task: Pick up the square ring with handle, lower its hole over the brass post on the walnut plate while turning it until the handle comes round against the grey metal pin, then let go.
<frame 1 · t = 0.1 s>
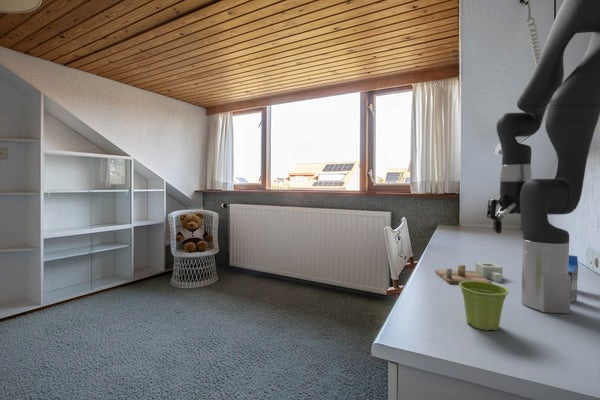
hand: (513, 233, 89), 17 cm above the table, tool pointing down, fingers open, 8 cm apart
square ring with handle: (488, 276, 103), on the table
locating plate: (461, 278, 101), on the table
plant pot: (482, 325, 66), on the table
label tape box: (554, 297, 84), on the table
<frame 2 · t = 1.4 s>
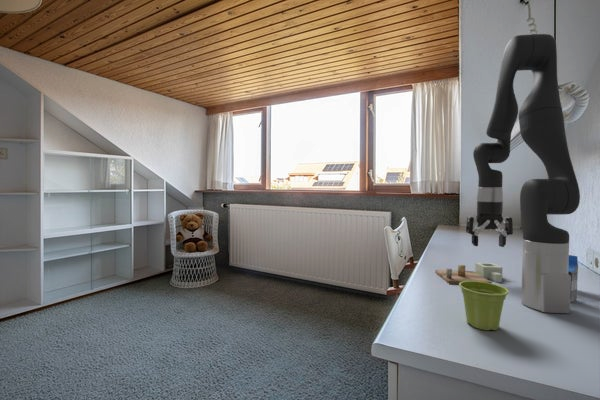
hand: (488, 246, 103), 11 cm above the table, tool pointing down, fingers open, 8 cm apart
nothing on the table moved.
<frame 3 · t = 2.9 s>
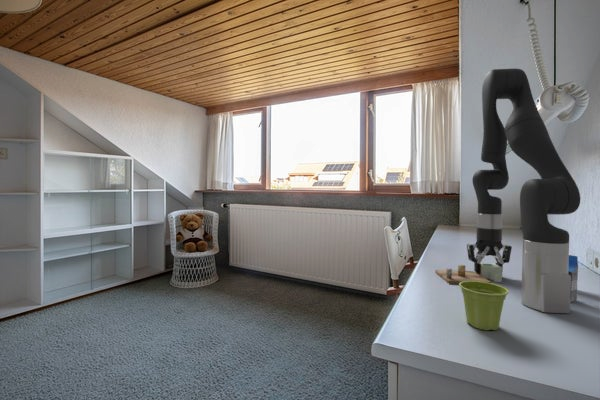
hand: (488, 273, 103), 1 cm above the table, tool pointing down, fingers closed on square ring with handle, 6 cm apart
square ring with handle: (488, 276, 103), on the table, touching gripper
everything else where it was.
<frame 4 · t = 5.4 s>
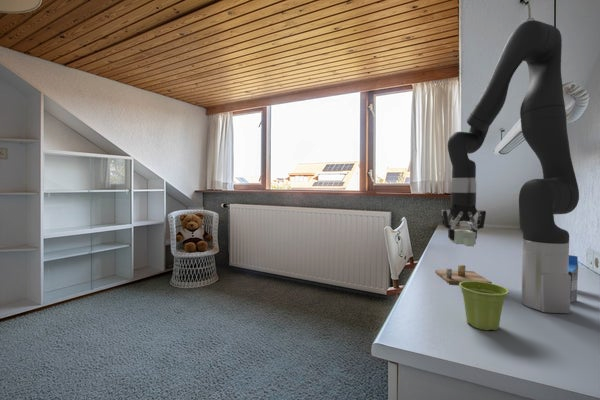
hand: (462, 240, 100), 13 cm above the table, tool pointing down, fingers closed on square ring with handle, 6 cm apart
square ring with handle: (462, 242, 100), point 12 cm above the table, touching gripper
everything else where it was.
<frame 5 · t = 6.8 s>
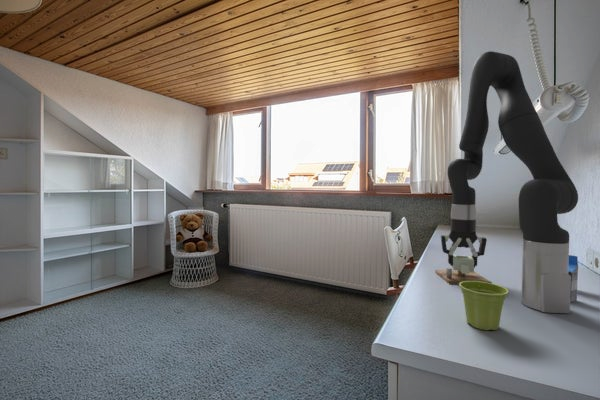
hand: (462, 266, 101), 4 cm above the table, tool pointing down, fingers closed on square ring with handle, 6 cm apart
square ring with handle: (462, 268, 101), point 3 cm above the table, touching gripper
everything else where it was.
when the fingers open (2 cm above the table, at t = 7.9 s): square ring with handle stays where it is, resting on locating plate.
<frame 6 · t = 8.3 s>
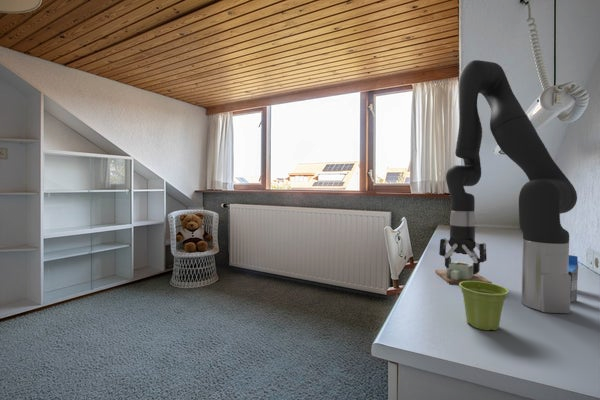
hand: (461, 271, 101), 3 cm above the table, tool pointing down, fingers open, 8 cm apart
square ring with handle: (461, 275, 101), point 1 cm above the table, touching locating plate
everything else where it was.
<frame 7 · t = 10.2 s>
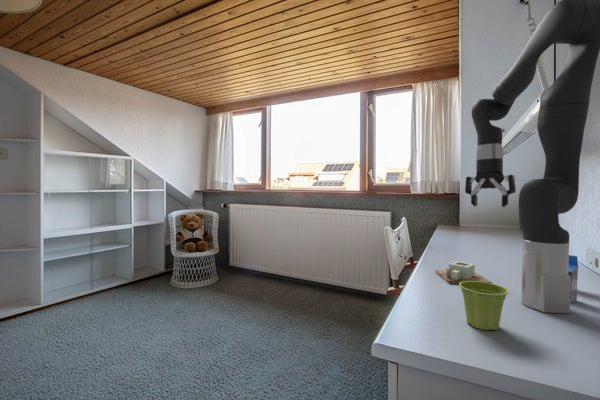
hand: (489, 206, 100), 25 cm above the table, tool pointing down, fingers open, 8 cm apart
nothing on the table moved.
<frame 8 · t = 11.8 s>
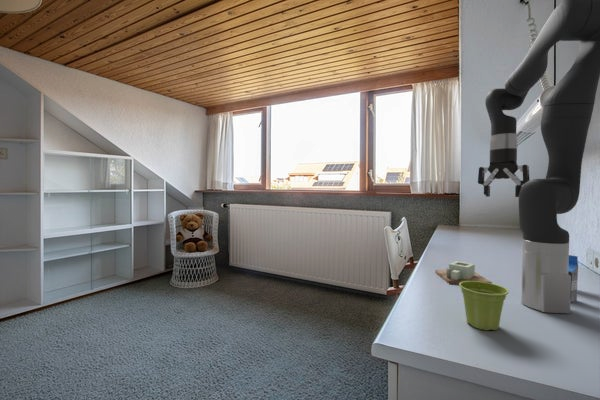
hand: (502, 196, 99), 28 cm above the table, tool pointing down, fingers open, 8 cm apart
nothing on the table moved.
at the end: square ring with handle 0.0 cm off-centre on the locating plate, point 1.0 cm above the locating plate's base; square ring with handle tilted 0°; the gripper is holding nothing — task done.
